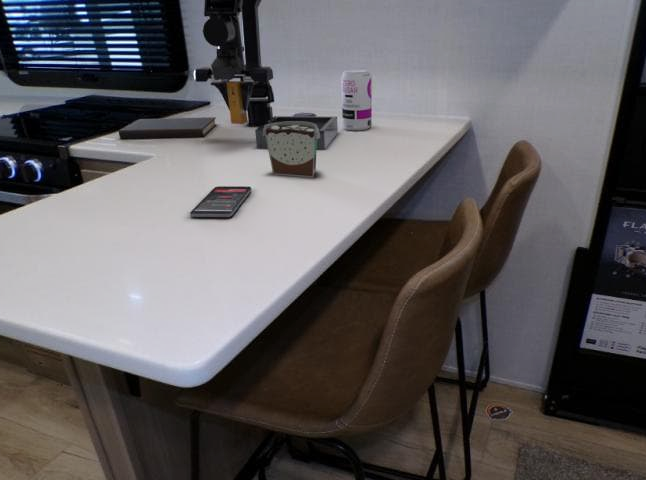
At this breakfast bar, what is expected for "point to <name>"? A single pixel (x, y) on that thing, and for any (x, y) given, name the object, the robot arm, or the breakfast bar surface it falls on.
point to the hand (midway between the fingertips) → (238, 110)
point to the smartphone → (221, 202)
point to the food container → (292, 147)
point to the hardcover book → (168, 128)
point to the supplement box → (236, 102)
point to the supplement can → (356, 99)
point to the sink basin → (323, 123)
